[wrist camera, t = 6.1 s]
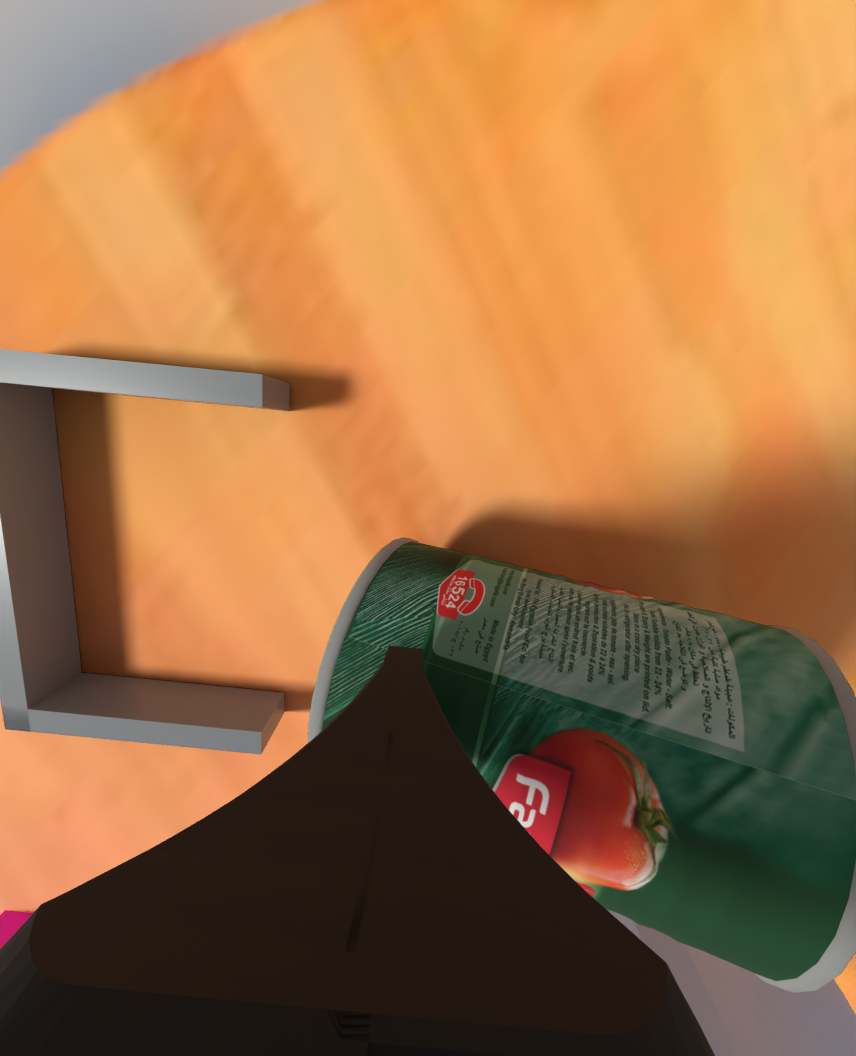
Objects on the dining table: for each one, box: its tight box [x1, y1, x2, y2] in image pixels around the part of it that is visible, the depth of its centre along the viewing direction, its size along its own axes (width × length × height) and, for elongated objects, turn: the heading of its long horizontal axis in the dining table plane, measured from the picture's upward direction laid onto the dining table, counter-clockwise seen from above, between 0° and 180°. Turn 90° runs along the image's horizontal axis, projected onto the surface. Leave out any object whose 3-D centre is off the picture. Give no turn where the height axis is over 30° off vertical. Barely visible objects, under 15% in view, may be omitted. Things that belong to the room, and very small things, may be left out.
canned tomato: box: [308, 538, 856, 993], centre depth 12 cm, size 8×8×11 cm
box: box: [0, 349, 290, 754], centre depth 16 cm, size 10×14×2 cm
